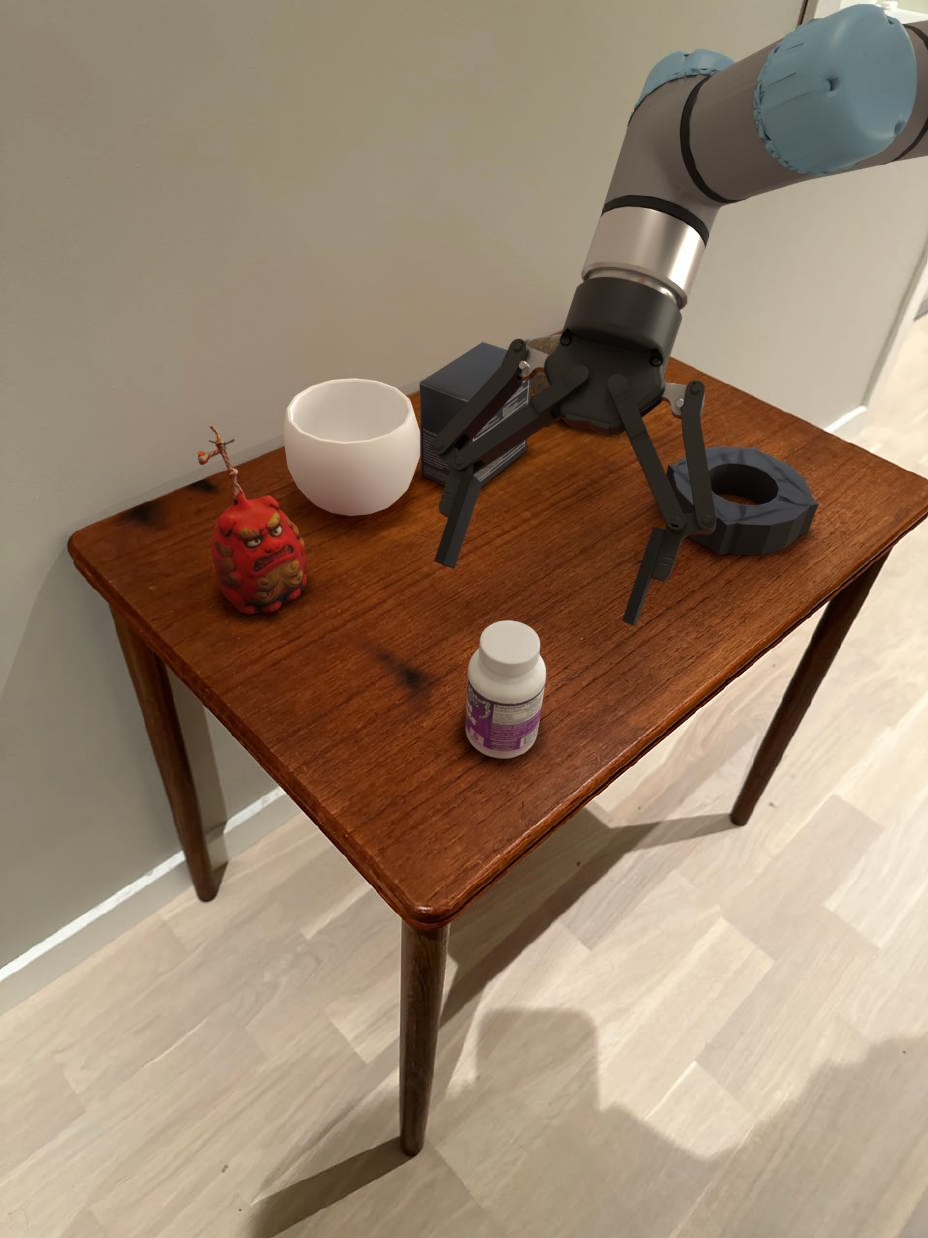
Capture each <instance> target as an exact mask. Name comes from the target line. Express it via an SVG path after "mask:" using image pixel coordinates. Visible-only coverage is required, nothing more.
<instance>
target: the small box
mask: <svg viewBox="0 0 928 1238" xmlns="http://www.w3.org/2000/svg"><path fill="white" fill-rule="evenodd" d="M507 350H508V348H503V347H500V346H497V345H494V344H491V343H489V342H485V341H481V342H480V343H478V344H477V345H476V346H474V347H472V348H470V350H468V351H466V352H465V353H463V354H462V355H460V356H458V357H457V358H455V359H454V360H452V361H451V362H449V363H447V364H446V365H444V366H443V367H441V368H439V369H438V370H437V371H435V372H434V373H432V374H430V375H429V376H427V377H426V378H423V379H422V380H421V381H419V382H418V383H419V414H420V415H419V420H420V421H419V422H420V423H419V424H420V426H419V427H420V428H419V429H420V473H421V474H420V475H421V476H422V477H425V478H426V479H429V480H431V481H433V482H435V483H437V484H439V485H442V486H444V487H445V484H446V481H447V478H448V475H449V466H448V464H447V463H446V462H445V461H443V460H442V459H441V458H439V457H438V456H437V455H436V454H435V453H433V451H432V450H431V443H432V441H433V440H434V439H435V437H436V436H437V435H438V434H439V433H440V432H441V431H442V430H443V429H444V428H445V427H446V425H447V424H448V423H449V422H450V421H451V420H452V419H453V418H454V417H455V416H456V415H457V413H458V412H459V411H460V410H461V409H462V408H463V407H464V406H465V405H466V404H467V402H468V401H469V400H470V399H471V398H472V397H473V396H474V395H475V394H476V393H477V392H478V390H479V389H480V388H481V387H482V386H483V385H484V384H485V383H486V382H487V381H488V379H489V378H490V377H491V376H492V375H493V374H494V373H495V372H496V371H497V370H498V369H499V367H500V366H501V364H502V362H503V359H504V357H505V355H506V353H507ZM531 390H532V386H531V380H528V381H523V383H522V385H521V386H520V388H519V389H518V390H517V391H516V393H515V394H514V395H513V396H512V397H511V398H510V399H509V400H508V401H507V403H506V404H505V405H504V406H503V407H502V408H501V409H500V410H499V411H498V412H497V413H496V414H495V416H494V417H493V418H492V419H491V420H490V421H489V422H488V423H487V424H486V425H485V426H484V427H483V429H482V430H481V431H480V432H479V433H478V434H477V435H476V436H475V437H474V438H473V439H472V440H471V442H470V443H472V442H473V441H475V440H476V439H478V438H479V437H481V436H482V435H484V434H485V433H487V432H488V431H489V430H491V429H492V428H494V427H495V426H497V425H498V424H500V423H501V422H503V421H504V420H506V419H507V418H508V417H510V416H511V415H513V414H514V413H516V412H517V411H519V410H520V409H522V408H523V407H524V406H526V405H527V404H528V403H529V402H530V400H531ZM470 443H469V444H470ZM469 444H468V445H469ZM468 445H467V446H468ZM527 450H528V438H527V439H526V440H524V441H523V442H521V443H520V444H518V445H517V446H516V447H514V448H513V449H511V450H510V451H508V452H507V453H505V454H504V455H502V456H501V457H499V458H498V459H496V460H495V461H493V462H492V463H490V464H489V465H487V466H486V467H484V468H483V469H481V470H480V471H479V472H477V473H476V474H474V476H475V477H476V478H477V479H478V480H479V481H480V482H482V486H481V488H482V487H483V486H485V485H486V484H488V482H490V481H491V480H492V479H494V478H495V477H496V476H497V475H498V474H500V473H501V472H502V471H504V470H505V469H506V468H507V467H508V466H509V465H511V464H512V463H513V462H515V460H517V459H518V458H520V457H521V456H522V455H523V454H524V453H525V452H527Z"/></svg>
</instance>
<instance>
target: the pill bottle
mask: <svg viewBox="0 0 928 1238" xmlns="http://www.w3.org/2000/svg"><path fill="white" fill-rule="evenodd" d="M540 651H541V640H540V637H539V635H538V633H537V632H536V631H535V629H533V628H532V627H531V626H529V625H527V624H525V623H523V622H520V621H515V620H500V621H496V622H493V623H491V624H489V625H488V626H487V627H486V628H485V629H483V631H482V633H481V635H480V638H479V644H478V648H477V649H476V650H475V651H474V652H473V654H472V655H471V658H470V659H469V662H468V667H467V681H466V701H465V702H466V705H465V706H466V707H465V734H466V737H467V739H468V741H469V743H470V745H472V747H474V748H475V749H476V750H477V751H478V752H480V753H481V754H482V755H485V756H488V757H491V758H495V759H513V758H516V757H518V756H520V755H523V754H525V753H526V752H528V750H530V749H531V748H532V746H533V745H534V744H535V741H536V740H537V737H538V733H539V726H540V720H541V713H542V708H543V707H542V706H543V702H544V701H543V700H544V693H545V687H546V682H547V669H546V663H545V661H544V659H543V658H542V657H543V656H541V654H540Z"/></svg>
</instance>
